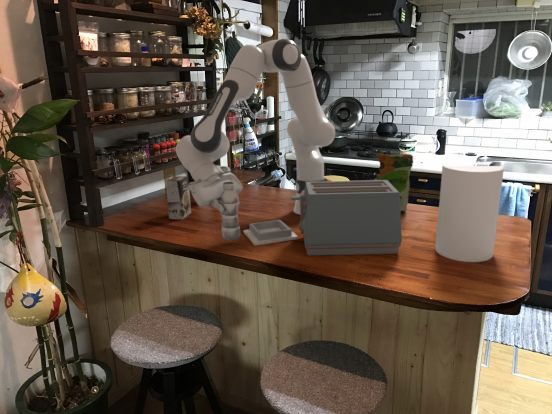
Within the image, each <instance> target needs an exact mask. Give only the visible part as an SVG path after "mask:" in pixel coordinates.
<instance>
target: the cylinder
mask: <svg viewBox="0 0 552 414" xmlns="http://www.w3.org/2000/svg"><path fill="white" fill-rule="evenodd" d="M504 170H505V169H504V166H503V165H442V168H441V179H440V180H441V181H440V193H439V203H438V204H439V205H438V212H437V225H436V226H437V227H436V235H435V236H436V238H435V251H436V253H438V254H439V255H440V256H442V257H444V258H447V259H450V260H453V261H458V262H465V263H480V262H485V261H490V260H491V259H492V258H493V257H494V250H495V241H496V237H497V236H496V235H497V225H498V217H499V209H500V204H501V203H500V202H501V193H502V187H503V177H504Z"/></svg>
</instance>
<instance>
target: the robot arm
mask: <svg viewBox="0 0 552 414" xmlns="http://www.w3.org/2000/svg"><path fill="white" fill-rule="evenodd" d="M227 70H228V71H227V73H226V75H225V77H224V80H223V81H222V83H221V84H220V85H219V88H218V89H217V90H216V93H215V94H214V96H213V98H212V101H211V102H210V104H209V106H208V108H207V109H206V112H205V113H204V115H203V116H202V118H201V119H200V120H199V121H198V122H197V123H195V125H194V126H193V127H192V130H191V133H190V135H184V136H183V137H181V138H180V139H179V140H178V141H177V143H176V146H175V153H176V156H177V158H178V160H179V161H180V162H181V164H182V165H183V167H184V168H185V169H186V170H187V171H188V172H189V174H190V175H191V177H192V179H193V180H194V181H190V182H189V185H188V188H189V192H190V193H191V195H192V197H193V199H194V201H195V203H196V204H197V206H199V207H200V208H204V207H207V206H210V205H211V206H212V207H213V208H214V209H217V210H218V211H219V213H221V214H222V212H225V210H226V208H225V207H224V205H223V206H222V205H221V204H220V199H219V198H220V197H221V193H222V192H223V191H224V189H223V183H224V182H233V183H234V191H235V192H236V193H237V195H239V194H240V193H241V192H242V190H243V189H244V187H243V183H241V181H240V180H239V179H238V178H237V176H236V175H235V174H234V173H233V172H231V168H230V167H229V166H226V165H218V164H215V163H214V162H216V161H218V160H220V159H222V158H223V157H225V156H226V155H227V154H228V153H229V151H230V148H231V142H230V138H228V136H227V135H226V134H225V133H224V132H223V131H222V128H223V127H222V126H223V123H224V121H225V119H226V117H227V116H228V113H229V111H230V110H231V108H232V106H233V104H234V103H235V102H243V101H246V100H248V99H250V98H251V96H252V95H253V93H254V92H255V90H256V87H257V85H258V83H259V81H260V79H261V75H262V74H263V73H265V74H267V73H271V74H272V73H273V74H274V73H278V72H279V73H280V74H281V76H282V78H283V84H284V89H285V92H286V96H287V101H288V104H289V107H290V109H291V110H292V111H293V113H294V114H295V115H296V117H292V119H291V120H290V121H289V122H288V124H287V127H286V132H287V135H288V136H289V138H290V139H291V142H292V146H293V151H294V154H295V162H296V179H295V191H296V195H295V196H299V197H300V195H304V191H305V186H306V183H305V182H320V181H333V180H331V178H330V179H329V178H326V177H325V160H324V157H323V156H322V153H321V152H320V149H319V148H323V147H327V146H329V145H331V144H332V143H333V142H334V140H335V137H336V128H335V127H334V124H333V123H332V122H330V120H329V119H328V118H327V116H326V114H325V112H324V110H323V108H322V106H321V104H320V102H319V97H318V96H317V91H316V87H315V82H314V78H313V75H312V71H311V68H310V65H309V62H308V61H307V58H306V56H305V55H304V54H302V53H301V52H300V49H299V46H298V45H297V43H296V42H295V41H293V40H291V39H288V38H281V39H272V40H269V41H266V42H261V43H258V44H256V45H254V44H245V45H242V47H240V49H239V50H238V52H237V53H236V55H235V57H234V58H233V60H232V62H231V64H230V66H229V68H228V69H227ZM294 203H295V204H294V208H293V213H295V214H296V215H298V216H300V199H299V200H295V202H294ZM240 205H241V201H239V202H238V207H239V206H240Z"/></svg>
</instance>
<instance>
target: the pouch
mask: <svg viewBox="0 0 552 414" xmlns="http://www.w3.org/2000/svg"><path fill="white" fill-rule="evenodd" d="M376 156H377V158H378V163H379V167H377V168H378V170H379V173H378V174H377V176H376V180H388V181H389V182H390V183H391V185H392V186H393V187H394V188H395V189H396V190H397V191H398V192H399V197H400V212H401V213H402V212H406V211H407V207H408V203H409V191H410V184H411V183H410V174H411V172H412V171H411V170H412V168H413V166H414V165H413V164H414V159H413V158H414V156H413V155H412V154H409V153H405V154H397V153H395V152H393V153H392V154H388V153H386V154H384V153H382V152H378V153H376Z"/></svg>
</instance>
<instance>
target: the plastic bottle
mask: <svg viewBox="0 0 552 414" xmlns="http://www.w3.org/2000/svg"><path fill="white" fill-rule="evenodd" d="M223 189H224V191H223V192H222V193H221V197H220V198H219V199H220V201H219V204H220V205H222V206H223V205H224V207H225V208H226V210H225V212H222V213H221V217H222V218H221V219H222V222H221V230H220V231H221V236H222V238H223V239H224V240H227V241H235V240H238V239H239V238H240V236H241V228H240V223H239V213H238V212H239V206H238V202H240V200H239V199H240V198H239V194H237V193H236V192H235V191H234V183H233V182H224V183H223Z"/></svg>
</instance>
